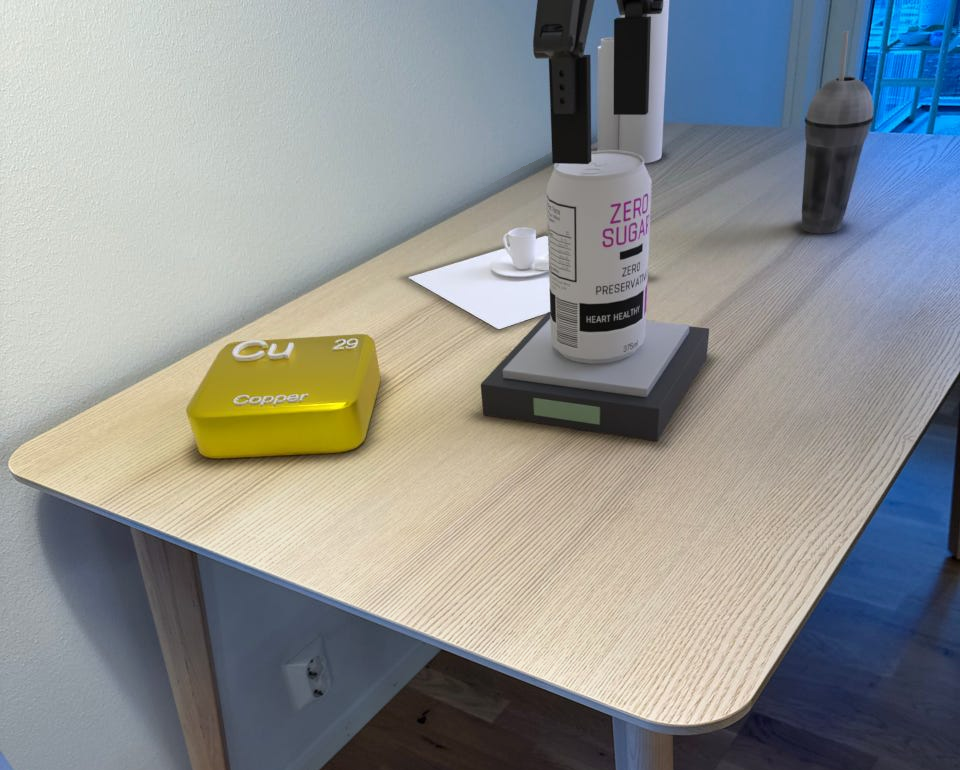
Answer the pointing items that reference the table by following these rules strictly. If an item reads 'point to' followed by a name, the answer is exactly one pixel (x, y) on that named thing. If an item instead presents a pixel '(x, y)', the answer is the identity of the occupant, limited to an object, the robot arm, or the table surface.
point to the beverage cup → (833, 148)
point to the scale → (598, 382)
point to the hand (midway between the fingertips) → (603, 137)
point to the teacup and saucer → (498, 281)
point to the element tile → (286, 397)
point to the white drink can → (599, 256)
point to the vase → (648, 129)
